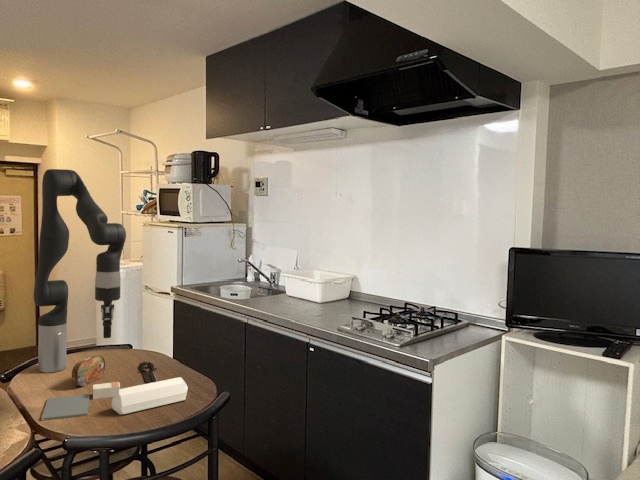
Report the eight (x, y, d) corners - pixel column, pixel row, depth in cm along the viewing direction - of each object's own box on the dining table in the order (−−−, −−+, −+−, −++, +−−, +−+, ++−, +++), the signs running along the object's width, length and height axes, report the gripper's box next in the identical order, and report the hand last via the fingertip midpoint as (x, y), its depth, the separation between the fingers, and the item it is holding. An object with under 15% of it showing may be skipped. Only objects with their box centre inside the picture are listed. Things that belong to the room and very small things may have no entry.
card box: (92, 395, 162) (92, 384, 162) (119, 392, 166) (119, 381, 165) (93, 400, 158) (93, 388, 158) (119, 396, 161) (120, 385, 161)
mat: (47, 399, 156) (47, 398, 156) (89, 395, 161) (89, 393, 161) (41, 420, 141) (41, 418, 141) (87, 415, 146) (87, 413, 146)
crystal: (117, 407, 144) (194, 390, 159) (111, 388, 148) (186, 374, 164) (113, 424, 147) (189, 406, 162) (106, 405, 151) (181, 389, 167)
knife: (158, 386, 173) (158, 382, 173) (138, 388, 170) (138, 384, 170) (155, 364, 196) (155, 361, 196) (138, 365, 194) (138, 362, 194)
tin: (77, 389, 166) (78, 365, 165) (69, 388, 166) (69, 364, 166) (105, 375, 180) (106, 352, 180) (98, 374, 181) (98, 352, 180)
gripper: (95, 282, 165) (95, 330, 166) (94, 288, 152) (93, 340, 153) (120, 281, 168) (119, 328, 169) (120, 288, 155) (120, 339, 155)
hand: (107, 334), depth 161 cm, fingers open, 8 cm apart
